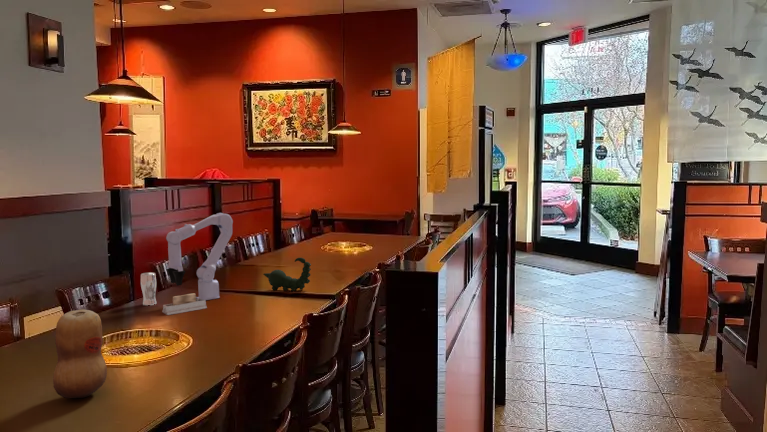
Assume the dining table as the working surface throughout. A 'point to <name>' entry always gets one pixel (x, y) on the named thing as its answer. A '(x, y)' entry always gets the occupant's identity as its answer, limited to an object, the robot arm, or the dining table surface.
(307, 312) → the dining table surface
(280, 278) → the toy figurine
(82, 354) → the butternut squash
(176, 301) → the door panel
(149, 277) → the beer glass
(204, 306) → the door track
